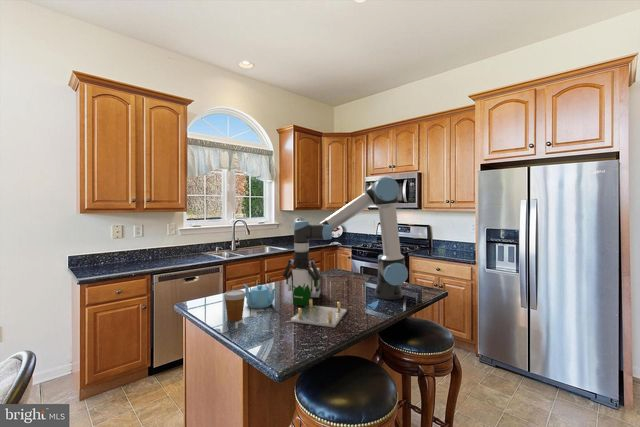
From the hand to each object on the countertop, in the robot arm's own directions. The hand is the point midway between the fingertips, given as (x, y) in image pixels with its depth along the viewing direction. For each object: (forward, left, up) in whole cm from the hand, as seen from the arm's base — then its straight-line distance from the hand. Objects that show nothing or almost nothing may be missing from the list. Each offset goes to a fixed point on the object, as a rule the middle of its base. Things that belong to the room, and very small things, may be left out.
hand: (301, 291), depth 164 cm
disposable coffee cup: (+20, +30, -6) cm, 37 cm away
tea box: (+3, -14, -6) cm, 16 cm away
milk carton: (0, 0, -6) cm, 6 cm away
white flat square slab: (-15, +15, -6) cm, 22 cm away
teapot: (+19, +11, -6) cm, 23 cm away
